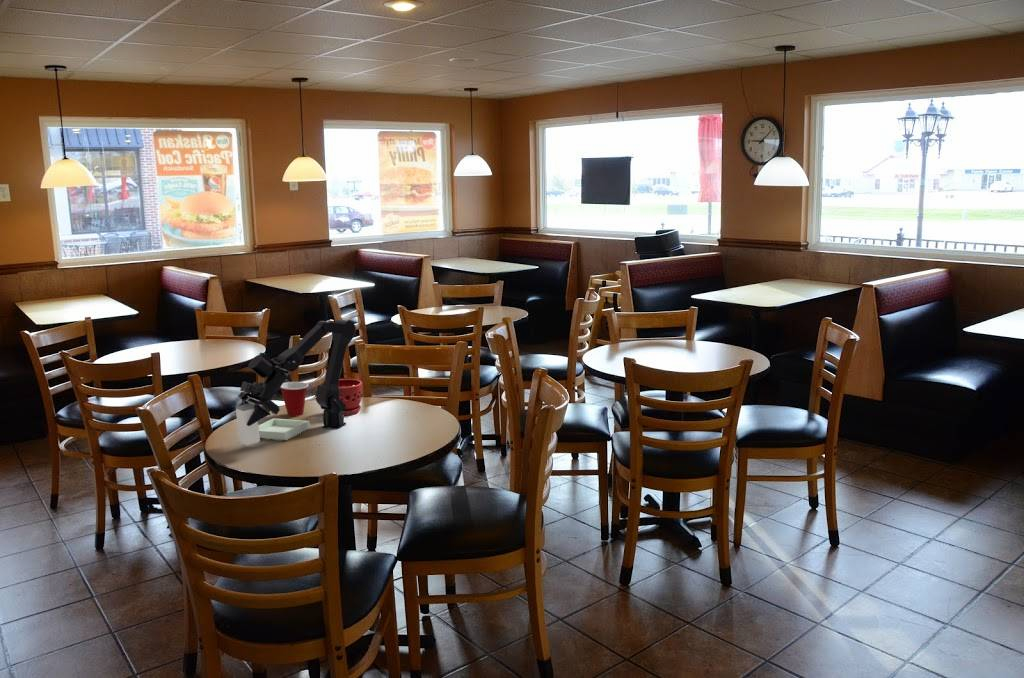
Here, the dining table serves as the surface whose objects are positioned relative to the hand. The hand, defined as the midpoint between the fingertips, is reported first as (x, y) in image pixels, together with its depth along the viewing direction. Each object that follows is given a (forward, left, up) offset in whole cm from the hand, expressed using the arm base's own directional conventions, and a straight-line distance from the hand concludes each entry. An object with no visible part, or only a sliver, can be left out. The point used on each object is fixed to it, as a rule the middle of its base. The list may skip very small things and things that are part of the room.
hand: (243, 423), depth 277 cm
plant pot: (-11, -49, -9) cm, 51 cm away
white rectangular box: (-1, -1, -7) cm, 7 cm away
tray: (-1, -19, -9) cm, 21 cm away
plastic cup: (+7, -42, -9) cm, 43 cm away
